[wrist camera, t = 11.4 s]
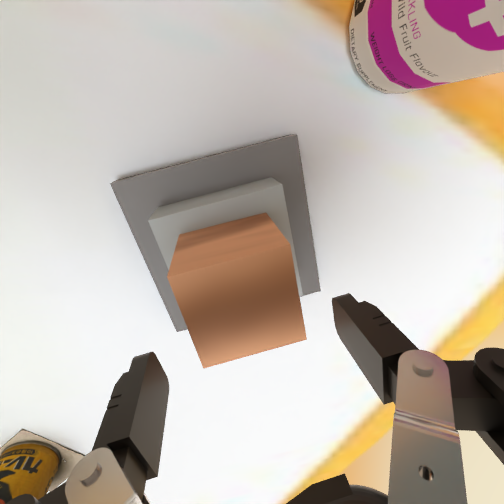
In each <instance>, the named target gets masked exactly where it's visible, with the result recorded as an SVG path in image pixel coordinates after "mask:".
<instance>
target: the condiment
mask: <svg viewBox="0 0 504 504" xmlns="http://www.w3.org/2000/svg"><path fill="white" fill-rule="evenodd" d="M83 457H84V456H83V455H81V454H78V453H75V452H74V451H71V450H68V449H67V448H64V447H62V446H60V445H59V444H57V443H55V442H52V441H49V440H47V439H45V438H43V437H41V436H38V435H35V434H33V433H31V432H28V431H25V430H21V431H20V432H19V433H18V434H16V435H15V436H14V437H13V438H12V439H11V440H9V441H8V442H7V443H6V444H5V445H4V446H2V447H1V448H0V504H6V503H8V502H9V501H10V500H12V499H14V498H15V497H17V496H19V495H23V494H31V495H32V496H33V497H35V498H36V499H37V500H38V499H40V498H42V497H43V496H45V495H46V493H47V492H48V491H50V492H51V491H53V490H54V489H55V488H56V487H57V486H58V485H60V484H61V483H62V482H63V481H64V480H66V479H67V478H68V477H69V475H70V473H71V471H72V470H73V468H74V467H75V466H76V464H77V463H78V462H79V461H80V460H81V459H82V458H83ZM63 458H64V460H65V461H66V462H64V460H63Z"/></svg>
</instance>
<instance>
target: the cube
mask: <svg viewBox="0 0 504 504" xmlns="http://www.w3.org/2000/svg"><path fill="white" fill-rule="evenodd" d="M167 278H168V281H169V283H170V286H171V288H172V291H173V293H174V296H175V298H176V301H177V303H178V306H179V308H180V311H181V313H182V316H183V318H184V321H185V323H186V326H187V328H188V331H189V333H190V336H191V338H192V341H193V343H194V346H195V348H196V351H197V353H198V356H199V358H200V361H201V363H202V366H203V368H207V367H210V366H214V365H217V364H221V363H224V362H228V361H232V360H235V359H239V358H242V357H246V356H249V355H253V354H257V353H260V352H264V351H267V350H271V349H274V348H278V347H281V346H285V345H289V344H292V343H296V342H299V341H303V340H306V339H307V338H306V333H305V327H304V321H303V315H302V309H301V303H300V298H299V292H298V286H297V280H296V274H295V268H294V263H293V257H292V251H291V245H290V243H289V242H288V241H287V239H286V238H285V237H284V235H283V234H282V233H281V231H280V230H279V229H278V227H277V226H276V225H275V223H274V222H273V221H272V220H271V218H270V217H269V216H268V214H267V213H266V212H265V213H261V214H257V215H253V216H250V217H246V218H242V219H238V220H234V221H230V222H226V223H222V224H218V225H214V226H210V227H207V228H203V229H199V230H195V231H191V232H187V233H183V234H179V237H178V240H177V244H176V247H175V251H174V254H173V258H172V261H171V265H170V268H169V272H168V275H167Z"/></svg>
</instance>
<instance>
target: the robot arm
mask: <svg viewBox="0 0 504 504" xmlns="http://www.w3.org/2000/svg"><path fill="white" fill-rule="evenodd" d="M332 306H333V313H334V321H335V327H336V330H337V333H338V335H339V337H340V339H341V340H342V342H343V344H344V345H345V347H346V348H347V350H348V351H349V353H350V354H351V356H352V357H353V359H354V360H355V362H356V363H357V365H358V366H359V368H360V369H361V371H362V372H363V374H364V375H365V377H366V378H367V380H368V381H369V383H370V384H371V386H372V387H373V389H374V390H375V392H376V393H377V395H378V396H379V398H380V399H381V401H382V402H383V404H387V403H390V402H394V403H395V405H396V407H395V413H394V420H393V435H392V449H391V463H390V478H389V492H388V496H387V495H386V494H384V493H382V492H380V491H377V490H375V489H372V488H369V487H365V486H360V485H349V483H348V480H347V478H346V476H345V474H342V475H339V476H336V477H333V478H330V479H327V480H324V481H321V482H318V483H315V484H312V485H311V486H309V487H308V488H307V489H305V490H304V491H303V492H301V493H300V494H299V495H297V496H296V497H295V498H293V499H292V500H290V501H289V502H288V503H286V504H467V497H466V488H465V480H464V471H463V462H462V454H461V446H460V438H459V433H458V431H456V430H471V431H476V432H477V433H478V434H479V436H480V437H481V438H482V439H483V440H484V442H485V443H486V444H487V445H488V446H489V447H490V449H491V450H492V451H493V452H494V453H495V455H496V456H497V457H498V458H499V459H500V461H501V462H502V463H503V464H504V349H500V348H484V349H481V350H479V351H478V352H477V353H476V355H475V359H474V360H473V361H472V360H470V361H446V360H442V359H441V358H440V357H438V356H437V355H435V354H433V353H431V352H428V351H424V350H419V349H418V348H417V347H416V346H415V345H414V344H413V343H412V342H411V341H410V340H409V339H408V338H407V337H406V336H405V335H404V334H403V333H402V332H401V331H400V330H399V329H398V328H397V327H396V326H395V325H394V324H393V323H391V321H390V320H389V319H388V318H387V317H386V316H385V315H384V314H383V313H382V312H381V311H380V310H379V309H378V308H377V307H376V306H374V305H372V304H370V303H368V302H366V301H363V302H360V303H358V302H357V301H356V300H355V298H354V297H353V296H352V295H351V294H349V293H348V294H345V295H341V296H338V297H335V298H332ZM168 395H169V382H168V378H167V376H166V374H165V372H164V370H163V368H162V366H161V364H160V362H159V360H158V359H157V357H156V355H155V353H154V352H149V353H146V354H143V355H139V356H136V357H134V358H133V360H132V363H131V366H130V369H129V372H126V373H123V375H122V376H121V378H120V379H119V380H118V382H117V383H116V384H115V386H114V389H113V392H112V395H111V400H110V401H109V403H108V406H107V410H106V412H105V415H104V418H103V421H102V423H101V426H100V429H99V432H98V435H97V438H96V440H95V443H94V446H93V449H92V451H91V452H90V453H88V454H87V455H85V456H84V457H83V458H82V459H81V460H80V461H79V462H78V463H77V464H76V466H75V467H74V468H73V470H72V471H71V473H70V475H69V477H68V479H67V481H66V482H65V483H64V484H62V485H60V486H59V487H57V488H56V489H54V490H53V491H51V492H49V493H48V494H46V495H45V496H43V497H42V498H40V499H38V500H37V499H36V498H35V497H33V496H32V495H31V494H23V495H19V496H17V497H15V498H14V499H12V500H10V501H9V502H8V503H6V504H151V503H150V501H149V500H148V498H147V496H146V495H145V493H144V489H145V483H146V480H148V479H152V478H155V477H158V469H159V462H160V455H161V447H162V440H163V432H164V425H165V417H166V410H167V402H168Z"/></svg>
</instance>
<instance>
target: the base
mask: <svg viewBox="0 0 504 504" xmlns="http://www.w3.org/2000/svg"><path fill="white" fill-rule="evenodd" d="M110 184H111V186H112V189H113V191H114V193H115V195H116V198H117V200H118V202H119V204H120V206H121V209H122V211H123V213H124V215H125V218H126V220H127V222H128V224H129V226H130V229H131V231H132V233H133V235H134V238H135V240H136V242H137V244H138V246H139V249H140V251H141V253H142V255H143V258H144V260H145V262H146V264H147V266H148V269H149V271H150V273H151V275H152V278H153V280H154V282H155V284H156V286H157V289H158V291H159V293H160V295H161V298H162V300H163V302H164V304H165V306H166V309H167V311H168V313H169V315H170V318H171V320H172V322H173V324H174V326H175V329H176V331H177V332H179V331H182V330H186V329H188V328H187V326H186V323H185V321H184V318H183V316H182V313H181V311H180V308H179V306H178V303H177V301H176V298H175V296H174V293H173V291H172V288H171V286H170V283H169V281H168V278H167V275H168V272H169V268H170V265H171V261H172V258H173V254H174V251H175V247H176V244H177V240H178V237H179V234H183V233H187V232H191V231H195V230H199V229H203V228H207V227H210V226H214V225H218V224H222V223H226V222H230V221H234V220H238V219H242V218H246V217H250V216H253V215H257V214H261V213H265V212H266V213H267V214H268V216H269V217H270V218H271V220H272V221H273V222H274V223H275V225H276V226H277V227H278V229H279V230H280V231H281V233H282V234H283V235H284V237H285V238H286V239H287V241H288V242H289V243H290V245H291V251H292V257H293V263H294V268H295V274H296V280H297V286H298V292H299V297H302V296H304V295H307V294H311V293H314V292H318V291H320V284H319V277H318V271H317V264H316V258H315V251H314V244H313V238H312V231H311V225H310V218H309V211H308V205H307V198H306V192H305V185H304V178H303V172H302V165H301V159H300V152H299V145H298V139H297V135H288V136H284V137H280V138H276V139H273V140H269V141H265V142H261V143H257V144H254V145H250V146H246V147H242V148H238V149H235V150H231V151H227V152H223V153H219V154H215V155H212V156H208V157H204V158H200V159H196V160H193V161H189V162H185V163H181V164H177V165H174V166H170V167H166V168H162V169H158V170H155V171H151V172H147V173H143V174H139V175H135V176H132V177H128V178H124V179H120V180H116V181H114V182H112V183H110Z"/></svg>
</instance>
